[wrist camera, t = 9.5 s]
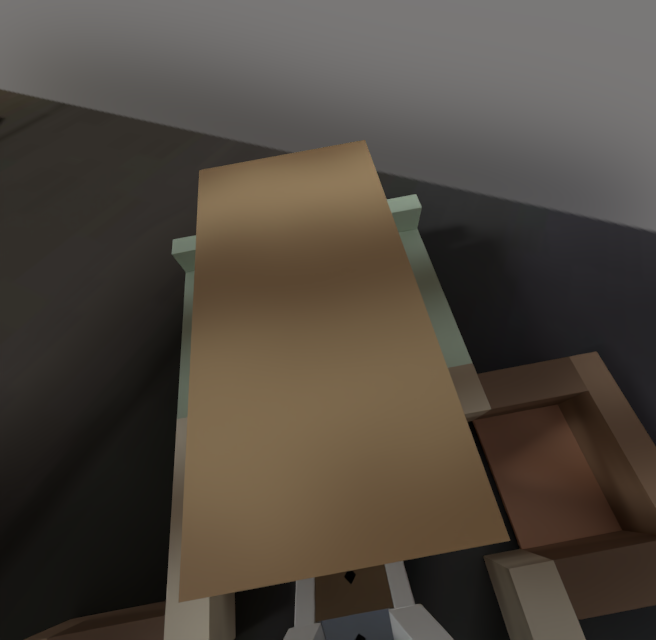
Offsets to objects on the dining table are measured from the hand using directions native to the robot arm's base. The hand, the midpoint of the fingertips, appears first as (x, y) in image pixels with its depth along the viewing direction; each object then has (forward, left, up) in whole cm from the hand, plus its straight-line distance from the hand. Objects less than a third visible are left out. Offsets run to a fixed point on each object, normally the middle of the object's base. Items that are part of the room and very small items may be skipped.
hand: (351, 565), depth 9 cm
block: (-2, +6, -4) cm, 8 cm away
